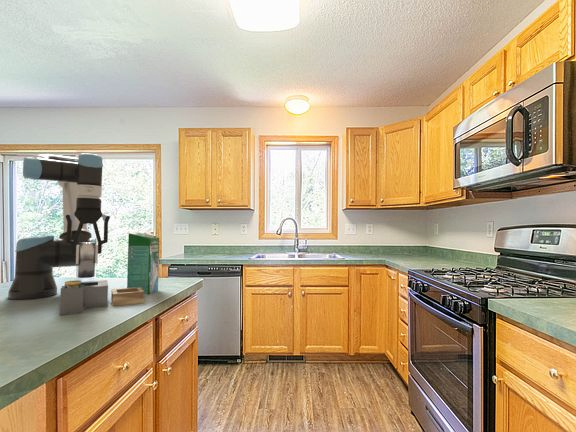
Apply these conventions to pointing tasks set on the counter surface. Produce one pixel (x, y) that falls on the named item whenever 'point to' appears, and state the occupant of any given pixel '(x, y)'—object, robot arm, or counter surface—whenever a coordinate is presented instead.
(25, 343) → the counter surface
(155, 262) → the milk carton
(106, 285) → the socket block
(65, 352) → the counter surface
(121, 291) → the tray
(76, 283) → the gold rounded cylinder
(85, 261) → the shiny silver rounded cylinder
